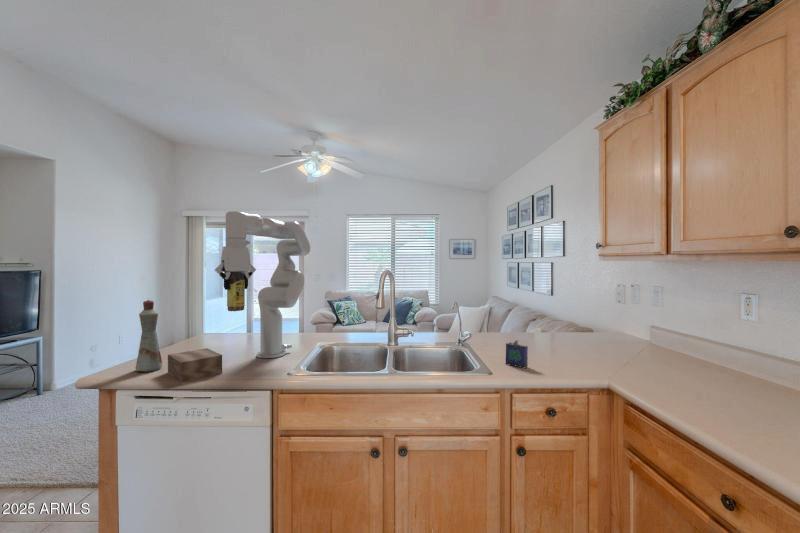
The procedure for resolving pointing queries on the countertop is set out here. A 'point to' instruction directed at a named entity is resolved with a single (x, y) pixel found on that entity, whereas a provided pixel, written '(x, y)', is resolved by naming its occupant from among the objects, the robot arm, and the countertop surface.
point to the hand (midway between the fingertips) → (236, 288)
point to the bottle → (148, 340)
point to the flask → (516, 354)
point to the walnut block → (194, 364)
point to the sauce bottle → (236, 292)
